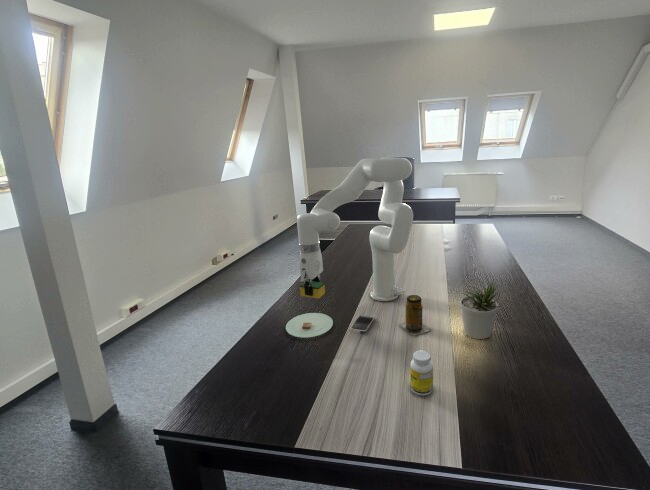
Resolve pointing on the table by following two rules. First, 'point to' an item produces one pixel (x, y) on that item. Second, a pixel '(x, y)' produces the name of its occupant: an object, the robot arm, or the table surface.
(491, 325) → the potted plant
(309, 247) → the robot arm
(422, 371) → the pill bottle
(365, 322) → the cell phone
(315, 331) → the plate
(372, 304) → the table surface
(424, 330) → the condiment
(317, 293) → the sponge
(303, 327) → the crumb
